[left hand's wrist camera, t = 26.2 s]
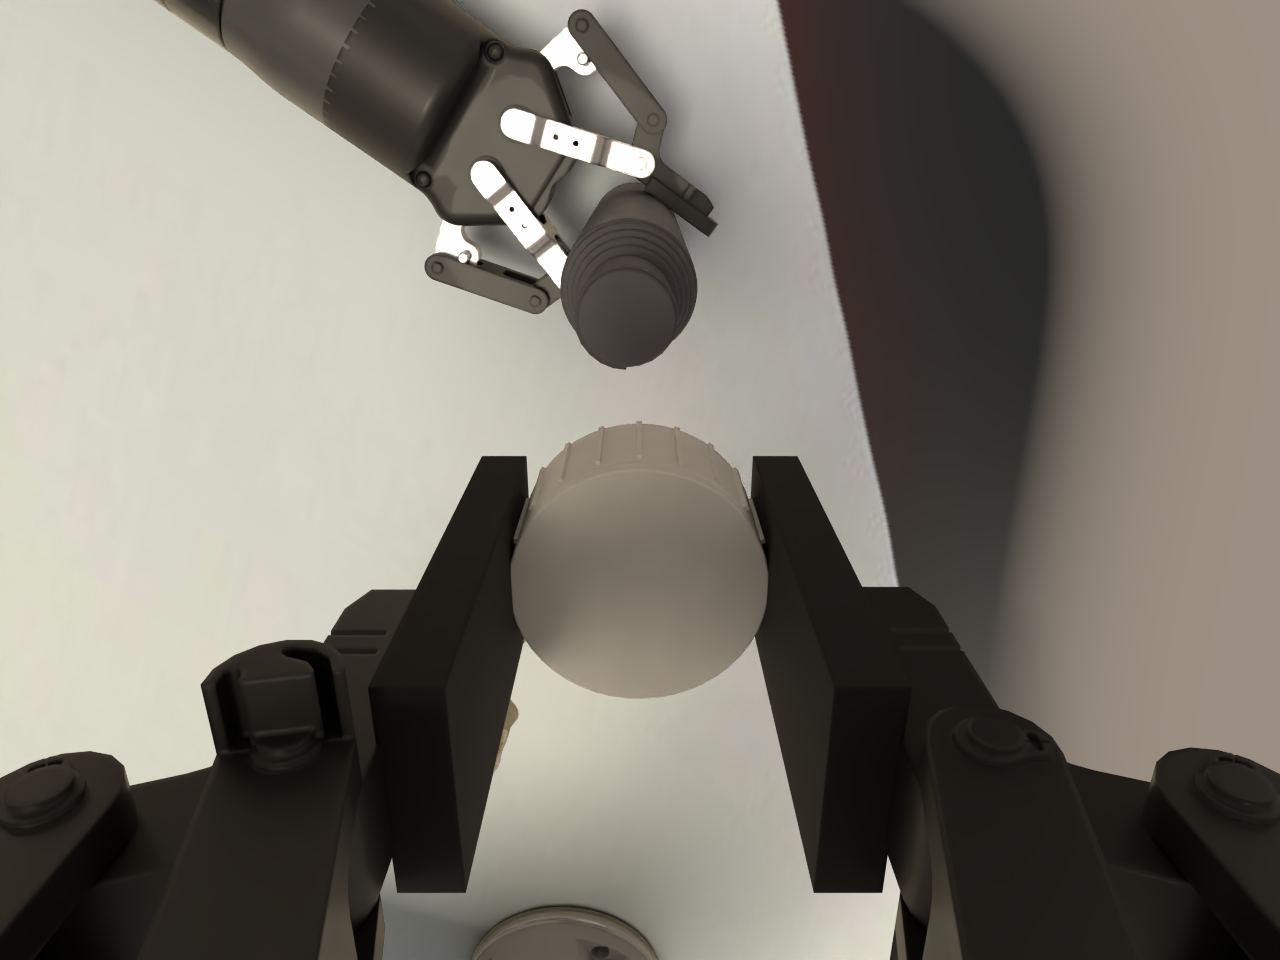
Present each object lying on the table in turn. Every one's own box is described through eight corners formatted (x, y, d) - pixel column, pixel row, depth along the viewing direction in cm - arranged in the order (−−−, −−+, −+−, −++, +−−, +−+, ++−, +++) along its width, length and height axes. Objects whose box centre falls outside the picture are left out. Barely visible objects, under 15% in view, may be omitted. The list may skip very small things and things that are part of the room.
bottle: (598, 176, 45) (553, 222, 22) (681, 189, 45) (721, 249, 23) (587, 262, 47) (536, 385, 24) (668, 274, 47) (692, 408, 24)
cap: (548, 642, 16) (534, 716, 14) (501, 438, 14) (478, 488, 12) (764, 613, 15) (783, 684, 13) (740, 403, 14) (758, 447, 12)
